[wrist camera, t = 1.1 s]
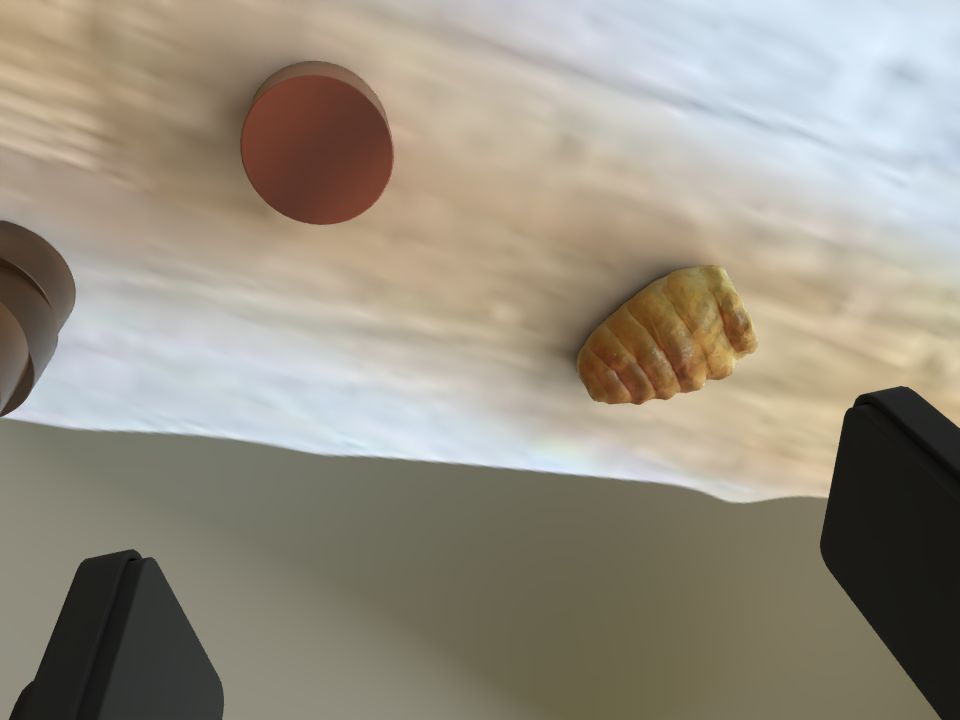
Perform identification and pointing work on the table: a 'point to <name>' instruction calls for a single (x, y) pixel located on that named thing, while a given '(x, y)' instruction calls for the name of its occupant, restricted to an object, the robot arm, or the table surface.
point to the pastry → (668, 339)
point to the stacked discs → (29, 310)
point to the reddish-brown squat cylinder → (317, 143)
